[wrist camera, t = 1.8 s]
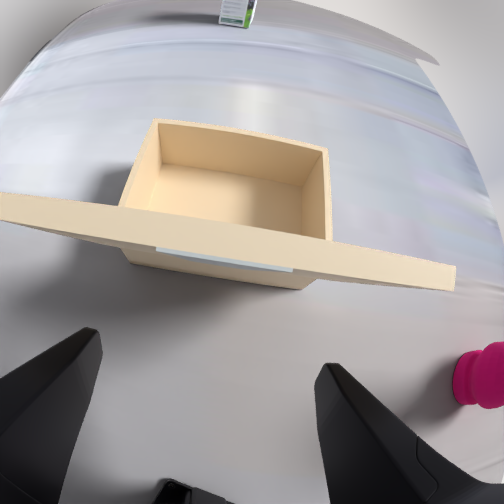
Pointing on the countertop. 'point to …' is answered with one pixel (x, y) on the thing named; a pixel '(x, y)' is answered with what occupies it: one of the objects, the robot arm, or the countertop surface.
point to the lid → (223, 243)
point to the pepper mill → (481, 377)
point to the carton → (230, 189)
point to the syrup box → (237, 12)
